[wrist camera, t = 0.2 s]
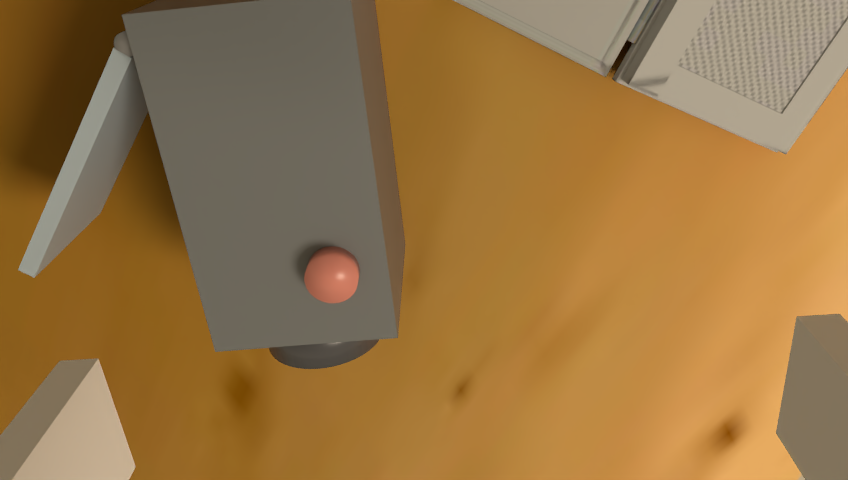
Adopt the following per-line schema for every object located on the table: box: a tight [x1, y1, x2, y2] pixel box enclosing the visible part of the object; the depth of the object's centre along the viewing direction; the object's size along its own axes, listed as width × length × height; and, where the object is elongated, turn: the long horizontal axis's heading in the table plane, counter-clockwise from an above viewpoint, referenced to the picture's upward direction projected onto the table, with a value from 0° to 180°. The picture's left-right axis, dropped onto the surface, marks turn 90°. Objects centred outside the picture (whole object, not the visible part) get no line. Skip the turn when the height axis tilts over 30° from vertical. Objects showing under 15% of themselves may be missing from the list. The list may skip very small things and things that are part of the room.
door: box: [18, 30, 148, 278], centre depth 35 cm, size 13×2×8 cm, turn 148°
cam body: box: [122, 0, 405, 369], centre depth 36 cm, size 19×9×11 cm, turn 6°
